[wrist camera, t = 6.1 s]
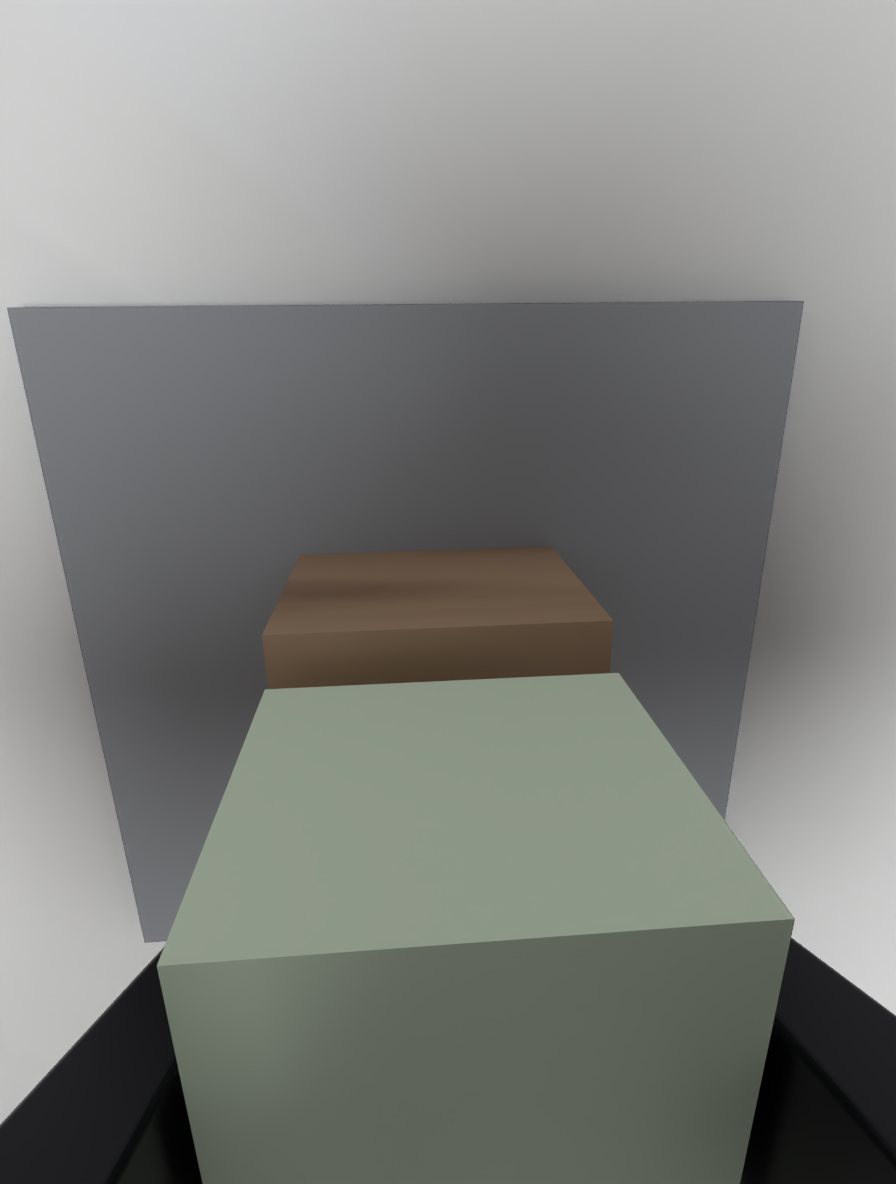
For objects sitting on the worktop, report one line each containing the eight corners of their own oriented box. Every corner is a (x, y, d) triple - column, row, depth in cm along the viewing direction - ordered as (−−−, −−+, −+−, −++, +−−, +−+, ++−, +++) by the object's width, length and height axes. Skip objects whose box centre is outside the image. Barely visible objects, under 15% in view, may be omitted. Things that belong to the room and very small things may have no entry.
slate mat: (704, 889, 17) (712, 901, 17) (150, 929, 16) (144, 942, 16) (791, 303, 13) (803, 301, 12) (19, 309, 12) (6, 307, 11)
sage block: (596, 940, 10) (718, 1287, 6) (297, 963, 10) (235, 1342, 6) (619, 672, 9) (794, 919, 5) (265, 689, 8) (157, 966, 4)
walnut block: (542, 759, 15) (592, 894, 11) (320, 771, 15) (294, 914, 11) (551, 546, 13) (613, 620, 10) (300, 554, 13) (262, 635, 9)
